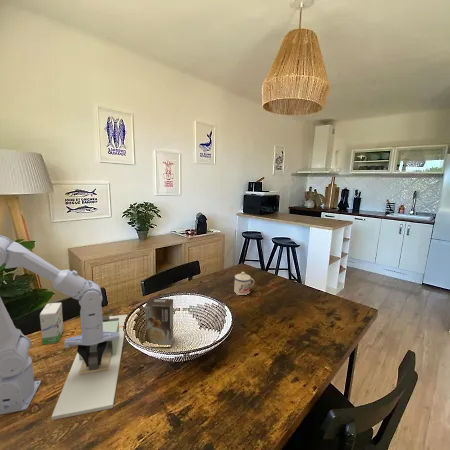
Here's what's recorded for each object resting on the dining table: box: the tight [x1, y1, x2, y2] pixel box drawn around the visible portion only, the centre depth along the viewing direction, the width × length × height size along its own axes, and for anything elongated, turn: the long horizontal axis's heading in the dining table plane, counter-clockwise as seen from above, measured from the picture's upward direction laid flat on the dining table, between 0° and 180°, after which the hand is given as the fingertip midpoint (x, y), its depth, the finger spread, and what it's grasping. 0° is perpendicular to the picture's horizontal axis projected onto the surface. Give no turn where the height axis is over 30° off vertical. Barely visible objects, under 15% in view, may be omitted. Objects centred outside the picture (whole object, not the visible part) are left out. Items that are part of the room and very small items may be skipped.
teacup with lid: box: [233, 271, 255, 296], centre depth 138 cm, size 12×9×12 cm
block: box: [91, 341, 109, 351], centre depth 88 cm, size 5×5×4 cm
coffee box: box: [144, 297, 174, 346], centre depth 93 cm, size 9×6×16 cm
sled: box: [79, 315, 113, 374], centre depth 88 cm, size 24×8×5 cm, turn 16°
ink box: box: [39, 302, 64, 345], centre depth 94 cm, size 8×5×12 cm, turn 19°
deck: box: [51, 314, 128, 421], centre depth 87 cm, size 46×14×1 cm, turn 16°
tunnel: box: [79, 320, 119, 360], centre depth 88 cm, size 10×11×8 cm
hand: (94, 363), depth 78 cm, fingers closed on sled, 2 cm apart
